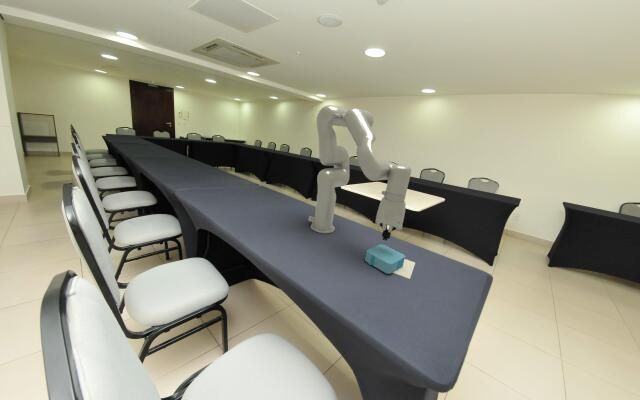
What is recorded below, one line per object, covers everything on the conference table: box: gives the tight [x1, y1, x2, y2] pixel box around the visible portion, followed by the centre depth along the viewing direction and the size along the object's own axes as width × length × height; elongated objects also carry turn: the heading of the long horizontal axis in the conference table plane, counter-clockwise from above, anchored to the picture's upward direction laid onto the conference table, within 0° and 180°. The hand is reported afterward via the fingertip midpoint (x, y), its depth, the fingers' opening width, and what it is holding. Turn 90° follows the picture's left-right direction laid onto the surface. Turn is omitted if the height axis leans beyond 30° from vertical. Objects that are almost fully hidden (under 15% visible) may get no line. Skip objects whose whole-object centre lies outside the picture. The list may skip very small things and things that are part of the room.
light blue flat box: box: [364, 244, 406, 275], centre depth 97 cm, size 12×4×12 cm
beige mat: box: [369, 258, 416, 280], centre depth 98 cm, size 16×14×1 cm
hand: (385, 239), depth 98 cm, fingers closed
